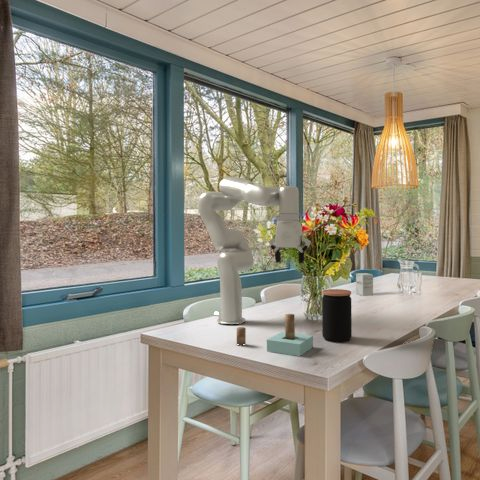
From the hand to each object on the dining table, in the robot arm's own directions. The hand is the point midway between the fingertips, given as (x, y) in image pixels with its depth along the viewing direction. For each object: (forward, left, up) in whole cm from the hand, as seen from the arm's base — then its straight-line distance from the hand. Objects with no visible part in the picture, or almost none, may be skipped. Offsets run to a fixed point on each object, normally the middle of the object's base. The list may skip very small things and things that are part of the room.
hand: (289, 262), depth 169 cm
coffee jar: (+18, +2, -28) cm, 34 cm away
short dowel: (-10, -21, -28) cm, 37 cm away
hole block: (+8, -18, -28) cm, 34 cm away
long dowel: (+8, -18, -28) cm, 34 cm away
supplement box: (+1, +106, -28) cm, 110 cm away
